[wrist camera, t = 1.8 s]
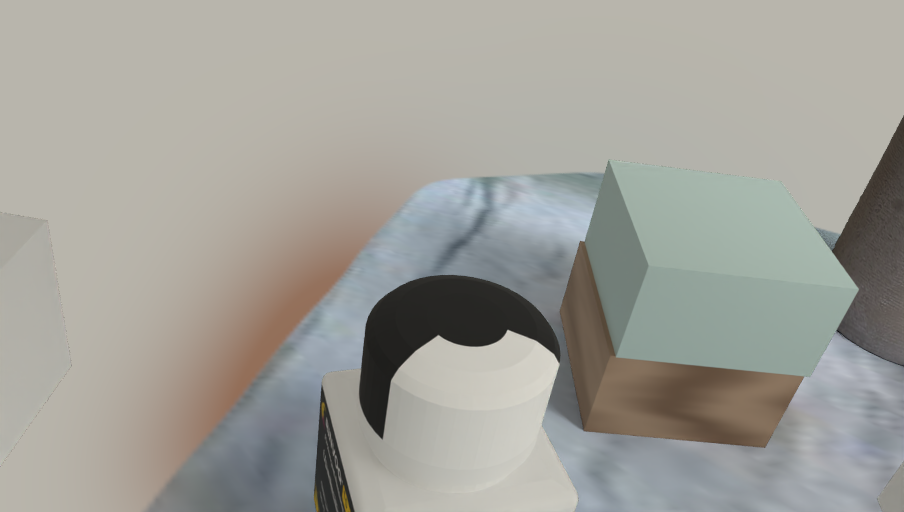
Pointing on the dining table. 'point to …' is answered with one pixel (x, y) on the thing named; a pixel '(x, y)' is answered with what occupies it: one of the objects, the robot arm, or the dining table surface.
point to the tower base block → (662, 383)
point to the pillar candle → (877, 259)
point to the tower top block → (713, 271)
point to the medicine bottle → (444, 407)
